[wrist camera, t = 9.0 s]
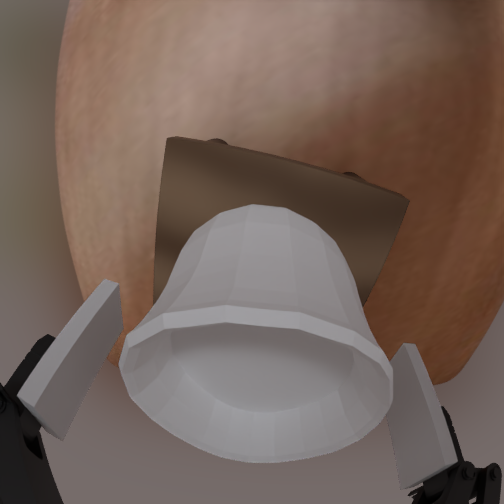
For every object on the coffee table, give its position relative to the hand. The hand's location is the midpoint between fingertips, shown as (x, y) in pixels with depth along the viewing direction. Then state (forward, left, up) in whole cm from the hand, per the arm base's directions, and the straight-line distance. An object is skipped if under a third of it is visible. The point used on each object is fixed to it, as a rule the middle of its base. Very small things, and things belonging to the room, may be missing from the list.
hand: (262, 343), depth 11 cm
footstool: (0, 0, -13) cm, 13 cm away
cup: (0, 0, -6) cm, 6 cm away
